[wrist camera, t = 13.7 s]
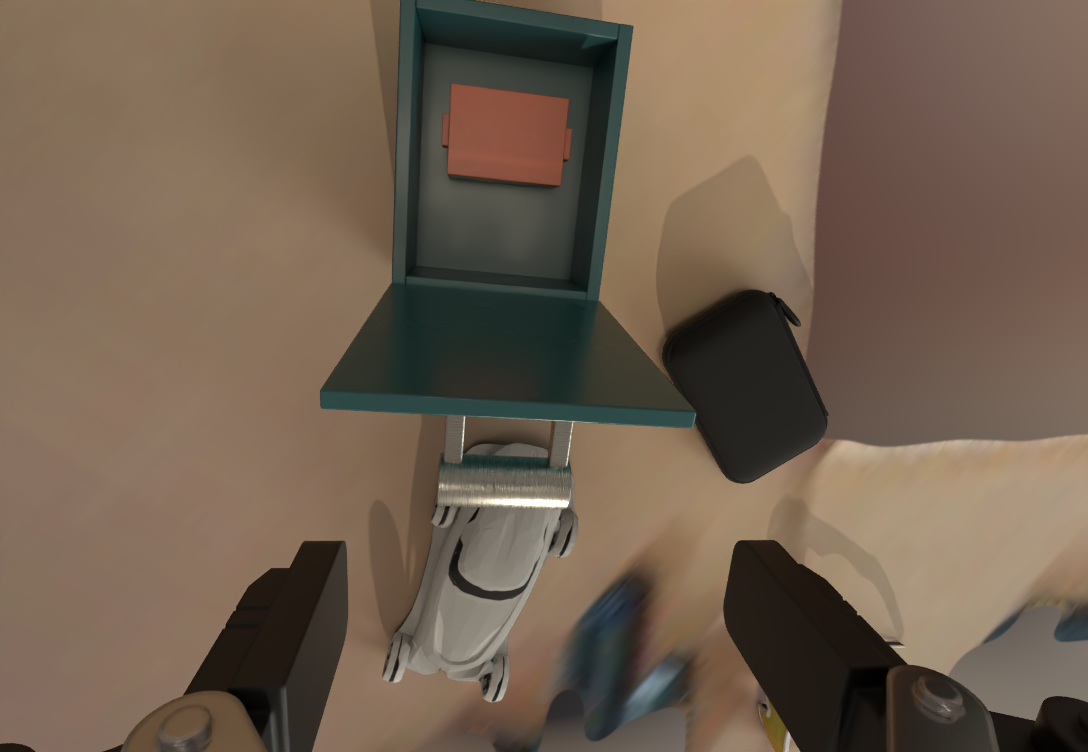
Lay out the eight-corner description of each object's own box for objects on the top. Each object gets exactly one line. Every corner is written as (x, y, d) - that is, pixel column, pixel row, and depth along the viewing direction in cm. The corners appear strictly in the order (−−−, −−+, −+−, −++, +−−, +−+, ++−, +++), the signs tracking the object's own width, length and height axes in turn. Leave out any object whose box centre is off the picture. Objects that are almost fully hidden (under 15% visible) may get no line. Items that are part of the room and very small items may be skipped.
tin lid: (319, 389, 18) (323, 530, 20) (698, 411, 20) (669, 538, 21) (390, 282, 33) (389, 367, 35) (600, 300, 35) (588, 380, 37)
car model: (377, 662, 49) (367, 710, 44) (466, 410, 44) (465, 434, 39) (498, 686, 51) (501, 734, 47) (596, 450, 46) (610, 477, 41)
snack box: (443, 177, 38) (439, 173, 34) (447, 97, 37) (443, 81, 33) (556, 189, 39) (567, 186, 35) (564, 112, 38) (576, 99, 34)
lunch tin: (413, 31, 36) (400, -13, 29) (604, 59, 38) (633, 25, 31) (404, 275, 40) (391, 287, 34) (577, 290, 42) (598, 305, 35)
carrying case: (833, 419, 48) (766, 269, 44) (856, 432, 45) (787, 273, 41) (724, 483, 49) (647, 341, 44) (740, 500, 46) (660, 350, 41)
